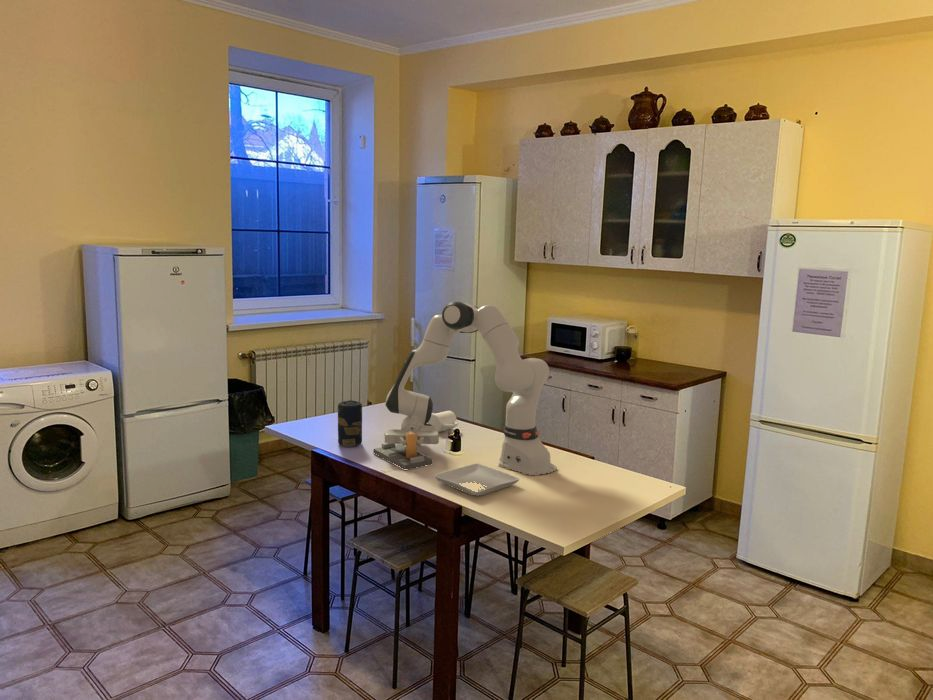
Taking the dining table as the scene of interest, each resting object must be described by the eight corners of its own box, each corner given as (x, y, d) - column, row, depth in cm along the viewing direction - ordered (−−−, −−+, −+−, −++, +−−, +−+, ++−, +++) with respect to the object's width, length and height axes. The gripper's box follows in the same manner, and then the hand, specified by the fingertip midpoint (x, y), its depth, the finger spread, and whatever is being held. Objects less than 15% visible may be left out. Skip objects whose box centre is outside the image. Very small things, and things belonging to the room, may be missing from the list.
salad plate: (476, 470, 257) (476, 461, 256) (520, 487, 242) (521, 477, 242) (432, 484, 242) (432, 474, 242) (476, 502, 228) (477, 492, 227)
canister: (363, 447, 278) (363, 403, 275) (338, 448, 276) (338, 403, 273) (360, 440, 287) (361, 397, 284) (336, 441, 285) (336, 397, 282)
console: (432, 464, 261) (432, 455, 260) (404, 470, 254) (404, 461, 253) (400, 448, 278) (400, 440, 278) (373, 453, 271) (373, 445, 270)
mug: (427, 430, 304) (427, 412, 303) (443, 426, 311) (444, 408, 310) (446, 437, 296) (447, 418, 294) (463, 432, 303) (464, 414, 302)
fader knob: (418, 457, 261) (419, 433, 259) (409, 459, 258) (410, 434, 257) (412, 454, 264) (413, 430, 262) (403, 456, 261) (404, 432, 260)
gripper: (384, 424, 271) (383, 434, 258) (438, 424, 273) (439, 435, 259) (384, 440, 272) (382, 451, 259) (438, 440, 274) (438, 452, 260)
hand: (411, 443), depth 259 cm, fingers closed on fader knob, 4 cm apart
